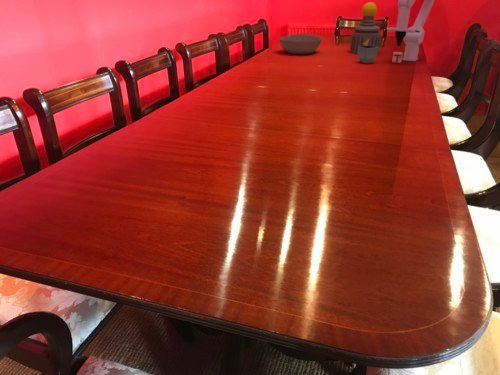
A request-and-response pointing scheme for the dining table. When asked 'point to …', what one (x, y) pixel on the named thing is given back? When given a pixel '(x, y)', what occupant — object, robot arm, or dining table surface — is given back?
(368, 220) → the dining table surface
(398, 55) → the letter cube
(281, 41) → the bowl
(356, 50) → the decorative lamp
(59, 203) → the dining table surface
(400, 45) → the robot arm
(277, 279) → the dining table surface
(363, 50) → the flower pot
